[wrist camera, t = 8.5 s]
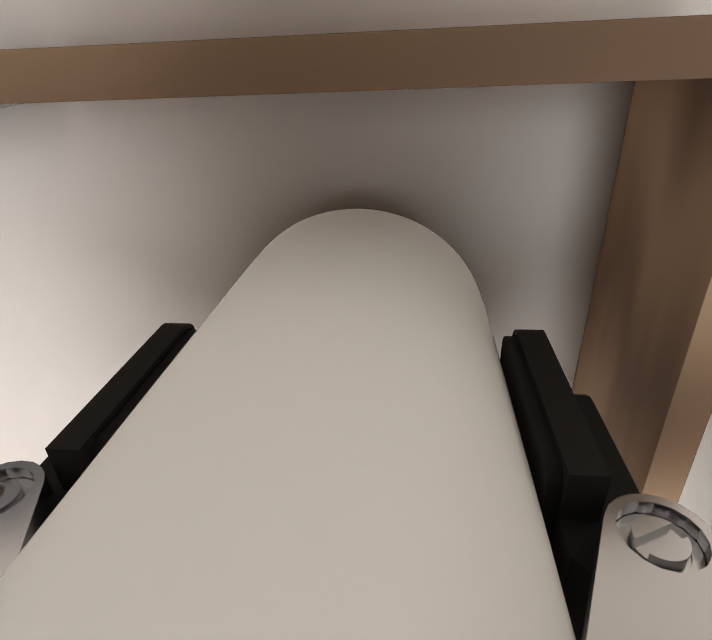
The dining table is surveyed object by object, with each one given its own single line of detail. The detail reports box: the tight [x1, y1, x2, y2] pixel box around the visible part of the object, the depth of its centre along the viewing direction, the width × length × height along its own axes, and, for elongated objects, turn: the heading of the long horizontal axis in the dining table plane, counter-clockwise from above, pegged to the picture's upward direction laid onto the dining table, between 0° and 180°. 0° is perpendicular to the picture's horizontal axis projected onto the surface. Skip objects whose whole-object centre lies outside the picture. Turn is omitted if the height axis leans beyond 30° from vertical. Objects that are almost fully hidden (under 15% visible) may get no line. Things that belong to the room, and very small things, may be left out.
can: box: [0, 209, 576, 640], centre depth 8 cm, size 6×6×12 cm
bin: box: [0, 15, 712, 504], centre depth 13 cm, size 14×15×5 cm
